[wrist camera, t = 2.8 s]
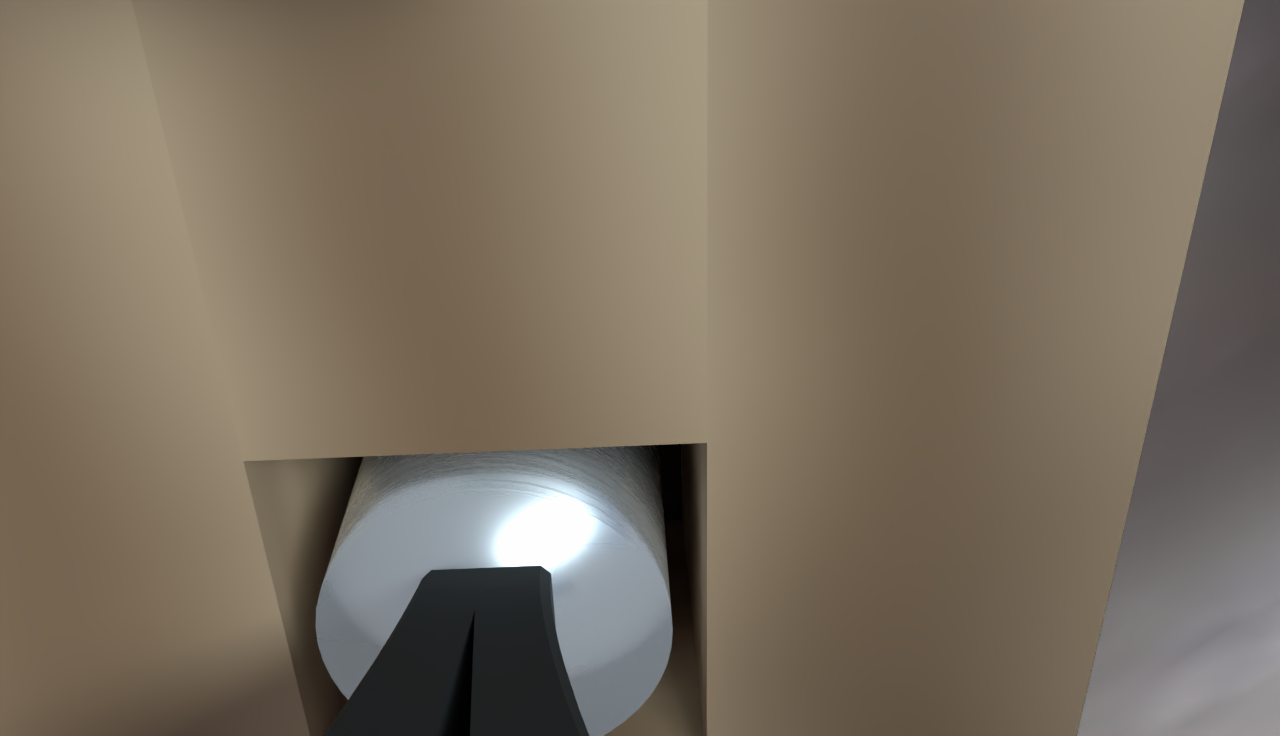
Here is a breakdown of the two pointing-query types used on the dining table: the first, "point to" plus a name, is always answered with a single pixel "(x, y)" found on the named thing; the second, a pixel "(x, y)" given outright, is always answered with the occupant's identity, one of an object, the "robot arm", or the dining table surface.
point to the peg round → (513, 558)
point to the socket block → (591, 330)
